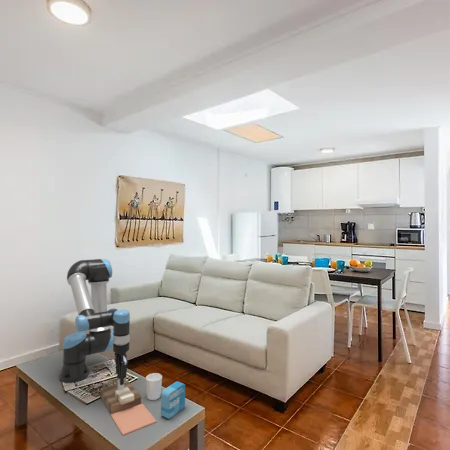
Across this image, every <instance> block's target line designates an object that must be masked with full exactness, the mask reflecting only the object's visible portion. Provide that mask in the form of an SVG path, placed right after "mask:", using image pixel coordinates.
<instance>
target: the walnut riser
mask: <svg viewBox="0 0 450 450" xmlns="http://www.w3.org/2000/svg"><path fill="white" fill-rule="evenodd" d="M125 387H128V388H129V389H130V391H131V392H132V393H133V394H134V401H131V402H128V403H125V404H123V405H121V403H120V402H119V401H118V399H117V398H116V396H115V391H116V390H118V383H115V384H112V385H109V386H105V387H101V388H100V390H99V392H100V393H99V395H100V399H101V400H102V402H103V403H104V405H105V406H106V408H107V410H108V411H109V413H110V415H111V414H114V413H117V412H120V411H122V410H125V409H128V408H131V407H134V406H137V405H139V404H142V396H141V395H140V394H139V392H138V391H137V390H136V388H135V387H134V386H133V385H132V383H130V381H129V380H124V388H125Z"/></svg>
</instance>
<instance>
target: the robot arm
mask: <svg viewBox="0 0 450 450" xmlns="http://www.w3.org/2000/svg"><path fill="white" fill-rule="evenodd" d="M112 277H113V267H112V264H111V262H110V260H109V259H107V258H95V259H82V260H78V261H76V262H74V263H73V264H72V265H70V268H69V269H68V270H67V275H66V281H67V284H68V285H69V286H70V288H71V292H72V295H73V296H72V297H73V299H74V302H75V304H74V305H75V307H76V311H77V314H78V315H76V317H75V322H74V323H75V329H76V331H75V332H72V333H69V334H68V335H66V336H65V337H64V339H63V342H62V344H63V345H62V354H63V355H62V365H61V369H60V371H59V376H58V378H59V381H61V382H62V381H63V382H62V383H77V382H81V381H82V380H85V379H86V378H88V376H89V375H90V368H89V366H88V362H87V356H90V355H94V354H95V355H96V354H99V353H104V352H106V351H108V352H109V351H110V350H112V351H113V353H114V360H115V361H114V362H115V375H116V376H117V384H118V390H119V389H122V388H124V381H125V379H126V378H127V372H128V366H129V365H128V364H129V359H128V360H127V352H128V351H130V341H131V340H130V339H131V338H130V335H131V334H130V330H131V329H130V328H131V327H130V324H131V323H130V321H131V317H130V316H131V315H130V311H129V310H128V309H117V308H114V307H113V308H112V307H111V308H108V295H107V294H108V292H107V285H108V283H109V282H110V279H111V278H112ZM87 282H88V284H89V285H90V292H89V288H88V285H87ZM111 327H112V328H111ZM87 331H88V333H87Z"/></svg>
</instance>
